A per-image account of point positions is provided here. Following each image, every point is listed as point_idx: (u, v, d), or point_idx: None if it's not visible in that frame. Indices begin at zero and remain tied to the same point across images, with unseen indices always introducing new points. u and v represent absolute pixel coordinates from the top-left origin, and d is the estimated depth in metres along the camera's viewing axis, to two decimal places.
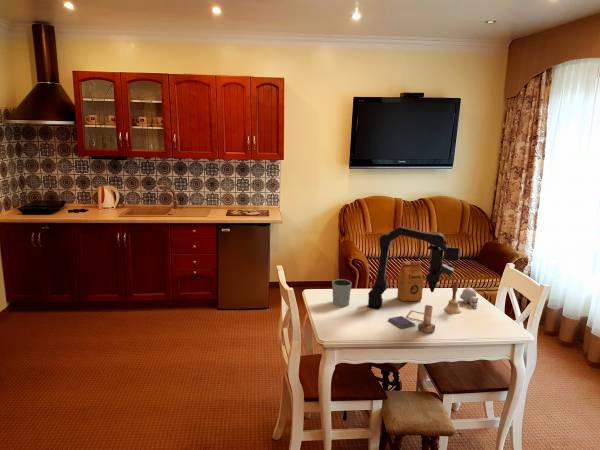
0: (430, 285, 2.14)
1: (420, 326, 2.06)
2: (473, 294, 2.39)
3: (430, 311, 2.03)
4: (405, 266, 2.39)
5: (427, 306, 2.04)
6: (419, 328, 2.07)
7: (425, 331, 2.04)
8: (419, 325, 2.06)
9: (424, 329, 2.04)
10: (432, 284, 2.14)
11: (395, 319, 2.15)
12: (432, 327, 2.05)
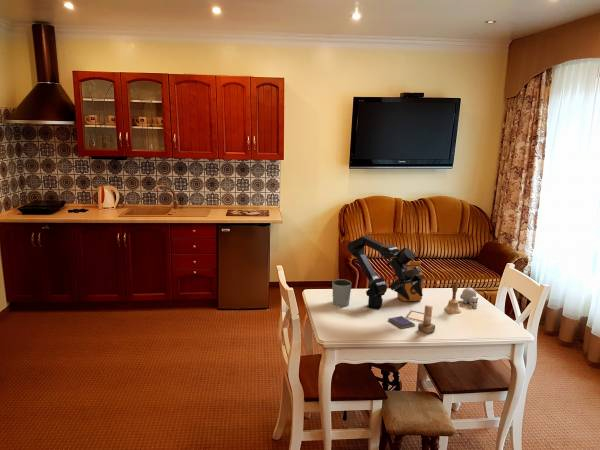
0: (402, 294, 2.09)
1: (420, 326, 2.06)
2: (473, 294, 2.39)
3: (430, 311, 2.03)
4: (405, 266, 2.39)
5: (427, 306, 2.04)
6: (419, 328, 2.07)
7: (425, 331, 2.04)
8: (419, 325, 2.06)
9: (424, 329, 2.04)
10: (402, 292, 2.09)
11: (395, 319, 2.15)
12: (432, 327, 2.05)
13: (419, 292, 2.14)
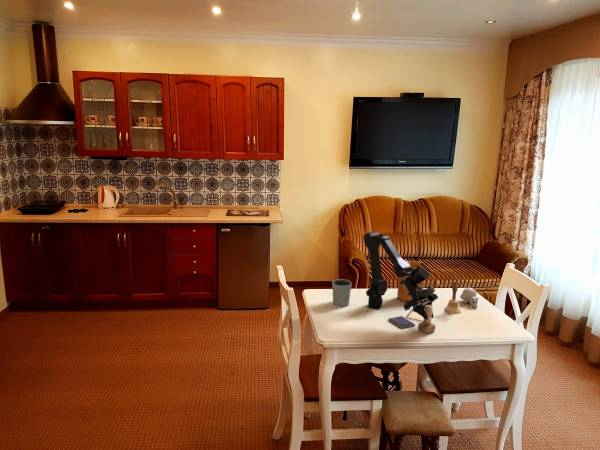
0: (420, 313, 2.05)
1: (420, 326, 2.06)
2: (473, 294, 2.39)
3: (430, 311, 2.03)
4: None
5: (427, 306, 2.04)
6: (419, 328, 2.07)
7: (425, 331, 2.04)
8: (419, 325, 2.06)
9: (424, 329, 2.04)
10: (421, 311, 2.04)
11: (395, 319, 2.15)
12: (432, 327, 2.05)
13: None
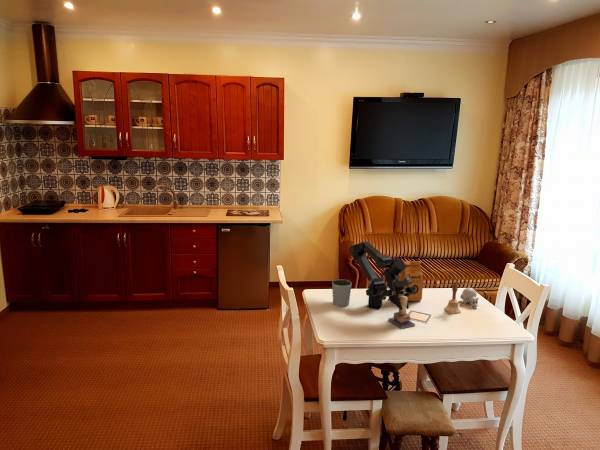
0: (395, 304, 2.12)
1: (395, 315, 2.13)
2: (473, 294, 2.39)
3: (404, 301, 2.10)
4: None
5: (402, 296, 2.11)
6: (394, 317, 2.14)
7: (399, 320, 2.11)
8: (394, 314, 2.14)
9: (398, 318, 2.12)
10: (396, 302, 2.12)
11: None
12: (406, 317, 2.11)
13: None
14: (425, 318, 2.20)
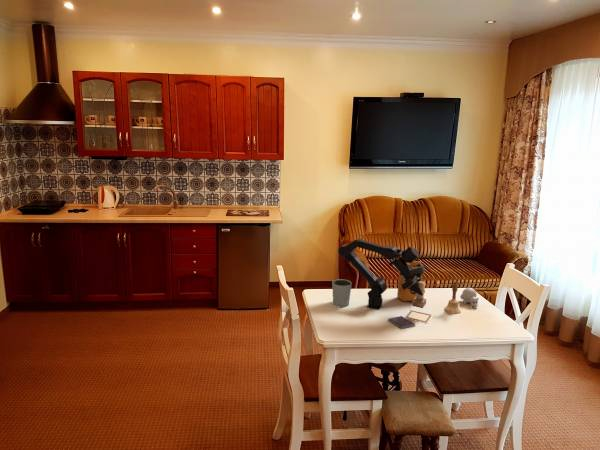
0: (415, 290, 2.17)
1: (415, 302, 2.19)
2: (473, 294, 2.39)
3: (424, 286, 2.17)
4: None
5: (420, 282, 2.18)
6: (413, 304, 2.19)
7: (420, 306, 2.18)
8: (413, 301, 2.19)
9: (419, 304, 2.18)
10: (416, 288, 2.17)
11: (395, 319, 2.15)
12: (425, 301, 2.20)
13: None
14: (425, 318, 2.20)
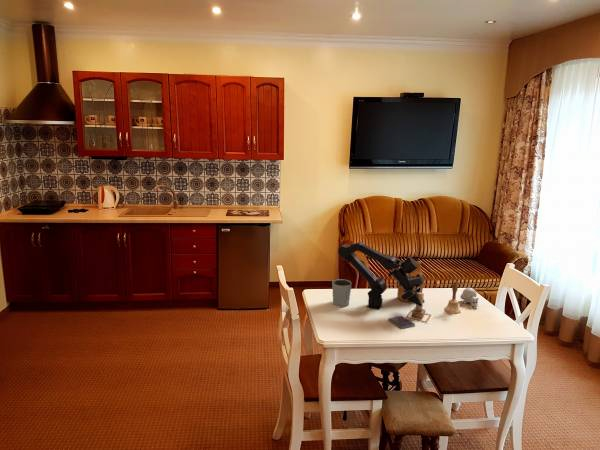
0: (414, 301, 2.18)
1: (414, 313, 2.21)
2: (473, 294, 2.39)
3: (423, 297, 2.19)
4: None
5: (419, 293, 2.20)
6: (413, 315, 2.21)
7: (420, 317, 2.19)
8: (413, 312, 2.21)
9: (418, 315, 2.20)
10: (415, 299, 2.18)
11: (395, 319, 2.15)
12: (424, 312, 2.21)
13: None
14: (425, 318, 2.20)
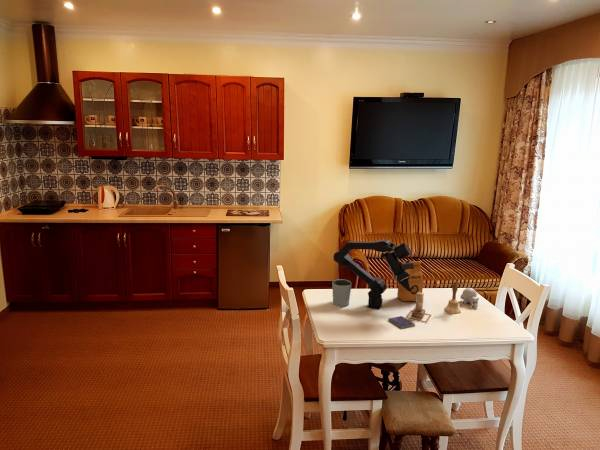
0: (404, 286, 2.18)
1: (414, 313, 2.21)
2: (473, 294, 2.39)
3: (422, 297, 2.19)
4: None
5: (419, 293, 2.20)
6: (413, 315, 2.21)
7: (420, 317, 2.19)
8: (413, 312, 2.21)
9: (418, 315, 2.20)
10: (405, 284, 2.18)
11: (395, 319, 2.15)
12: (424, 312, 2.21)
13: None
14: (425, 318, 2.20)
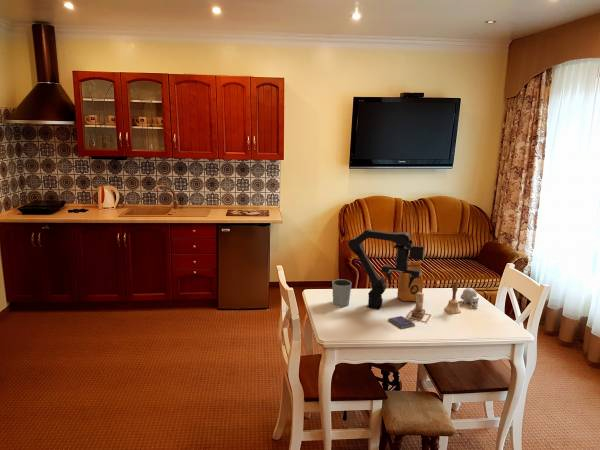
0: (411, 282, 2.22)
1: (414, 313, 2.21)
2: (473, 294, 2.38)
3: (422, 297, 2.19)
4: None
5: (419, 293, 2.20)
6: (413, 315, 2.21)
7: (420, 317, 2.19)
8: (413, 312, 2.21)
9: (418, 315, 2.20)
10: (411, 280, 2.23)
11: (395, 319, 2.15)
12: (424, 312, 2.21)
13: (391, 281, 2.27)
14: (425, 318, 2.20)
